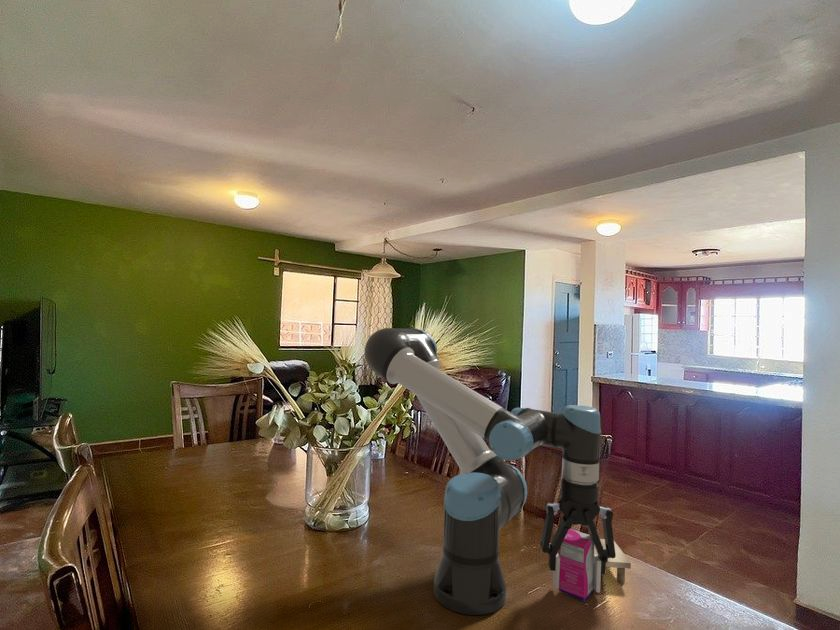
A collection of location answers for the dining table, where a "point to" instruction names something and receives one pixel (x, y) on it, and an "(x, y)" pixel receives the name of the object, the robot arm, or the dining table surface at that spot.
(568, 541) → the supplement box
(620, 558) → the footstool
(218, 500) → the dining table surface
